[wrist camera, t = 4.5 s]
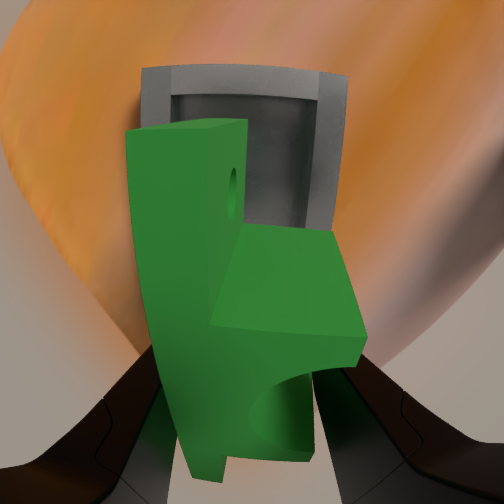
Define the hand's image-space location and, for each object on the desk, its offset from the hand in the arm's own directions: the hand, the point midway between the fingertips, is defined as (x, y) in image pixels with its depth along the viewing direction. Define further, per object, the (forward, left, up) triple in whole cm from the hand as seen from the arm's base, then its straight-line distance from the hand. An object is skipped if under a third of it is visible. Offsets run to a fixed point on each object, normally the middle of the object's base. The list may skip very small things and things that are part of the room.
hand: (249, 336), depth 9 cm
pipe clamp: (0, 0, -2) cm, 2 cm away
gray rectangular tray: (0, 0, -11) cm, 11 cm away
